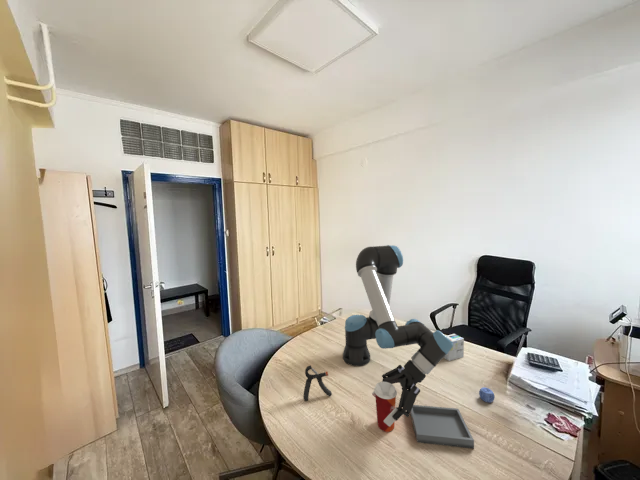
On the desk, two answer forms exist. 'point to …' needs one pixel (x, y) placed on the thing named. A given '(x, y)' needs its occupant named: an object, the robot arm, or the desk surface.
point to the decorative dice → (486, 394)
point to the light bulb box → (455, 347)
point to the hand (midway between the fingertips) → (379, 409)
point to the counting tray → (440, 426)
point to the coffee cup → (385, 403)
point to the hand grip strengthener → (319, 379)
